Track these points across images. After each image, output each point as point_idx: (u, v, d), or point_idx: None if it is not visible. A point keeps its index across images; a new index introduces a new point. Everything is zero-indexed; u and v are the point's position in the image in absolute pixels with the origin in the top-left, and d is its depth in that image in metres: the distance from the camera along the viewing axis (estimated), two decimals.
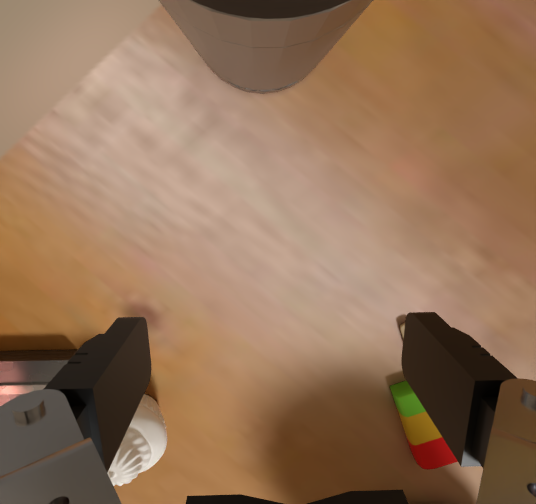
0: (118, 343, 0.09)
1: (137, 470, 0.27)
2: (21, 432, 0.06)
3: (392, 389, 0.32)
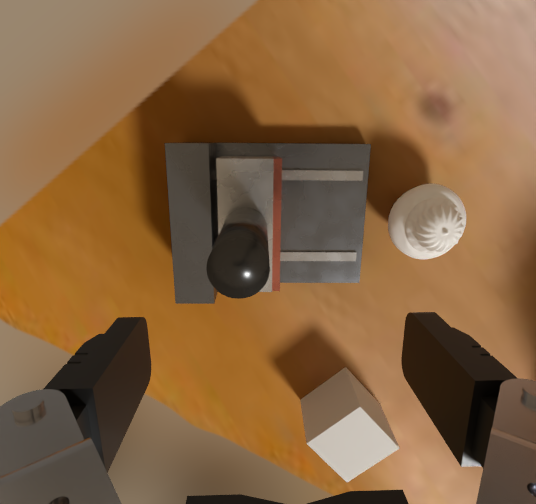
0: (118, 343, 0.09)
1: (462, 233, 0.28)
2: (21, 432, 0.06)
3: None
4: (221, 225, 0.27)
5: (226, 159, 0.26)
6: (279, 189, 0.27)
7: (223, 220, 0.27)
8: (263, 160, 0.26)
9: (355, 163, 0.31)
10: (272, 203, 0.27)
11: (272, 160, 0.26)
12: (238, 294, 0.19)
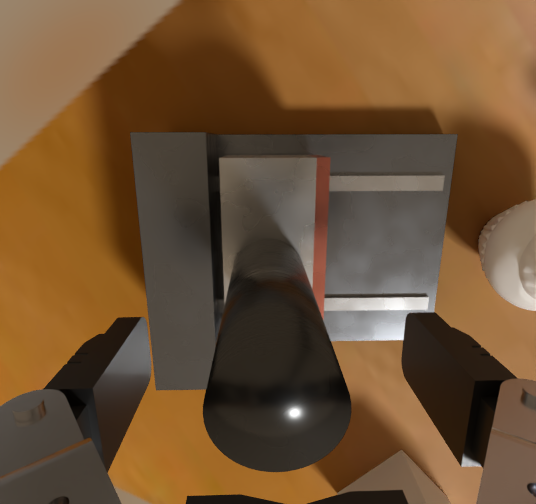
0: (118, 343, 0.09)
1: None
2: (21, 432, 0.06)
3: None
4: (228, 268, 0.17)
5: (236, 159, 0.15)
6: (325, 208, 0.16)
7: (231, 260, 0.16)
8: (299, 160, 0.15)
9: (432, 165, 0.20)
10: (313, 232, 0.16)
11: (314, 160, 0.15)
12: (276, 464, 0.08)
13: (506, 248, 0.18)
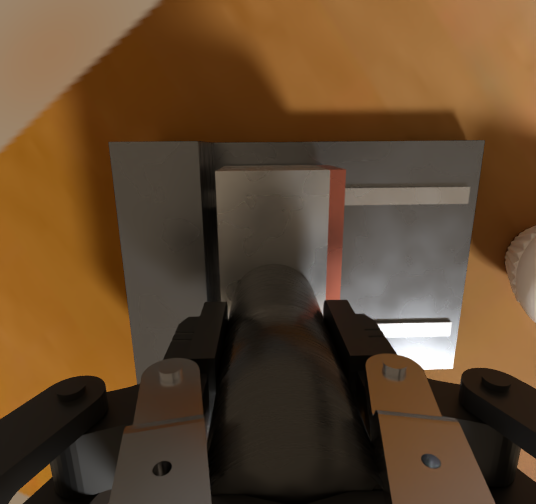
0: (217, 322, 0.10)
1: None
2: (174, 390, 0.07)
3: None
4: (227, 299, 0.14)
5: (235, 172, 0.13)
6: (339, 229, 0.14)
7: (230, 289, 0.14)
8: (310, 173, 0.13)
9: (456, 175, 0.18)
10: (325, 255, 0.14)
11: (327, 173, 0.13)
12: None
13: None
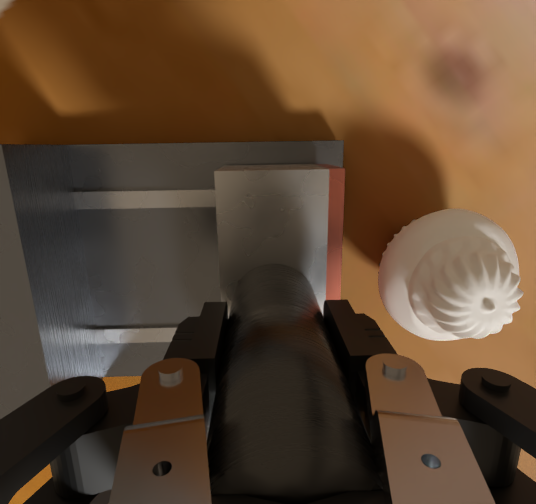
0: (217, 322, 0.10)
1: (519, 306, 0.14)
2: (174, 390, 0.07)
3: None
4: (227, 299, 0.14)
5: (234, 172, 0.13)
6: (339, 228, 0.14)
7: (230, 289, 0.14)
8: (309, 172, 0.13)
9: None
10: (325, 255, 0.14)
11: (327, 172, 0.13)
12: None
13: (394, 271, 0.16)
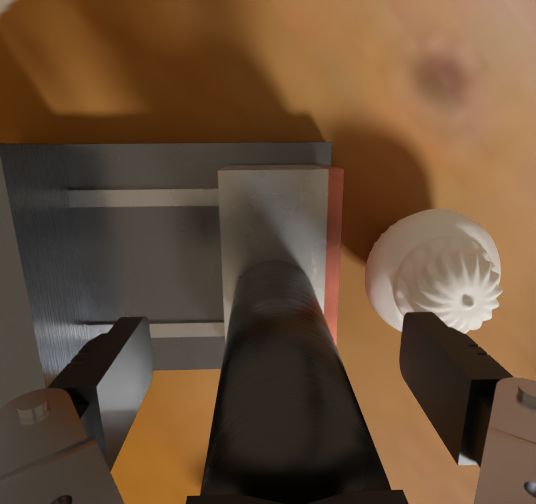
0: (121, 342, 0.09)
1: (498, 303, 0.15)
2: (26, 430, 0.06)
3: None
4: (229, 294, 0.15)
5: (237, 172, 0.13)
6: (337, 226, 0.14)
7: (232, 285, 0.15)
8: (309, 172, 0.13)
9: None
10: (324, 252, 0.14)
11: (326, 172, 0.14)
12: None
13: (380, 269, 0.16)
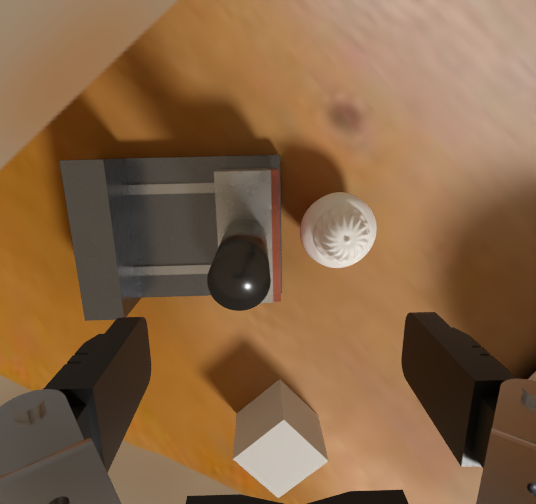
0: (118, 343, 0.09)
1: (366, 241, 0.28)
2: (21, 432, 0.06)
3: None
4: (220, 238, 0.27)
5: (224, 172, 0.26)
6: (277, 200, 0.27)
7: (222, 233, 0.27)
8: (260, 172, 0.26)
9: None
10: (271, 214, 0.27)
11: (269, 172, 0.26)
12: (240, 306, 0.19)
13: (306, 226, 0.29)
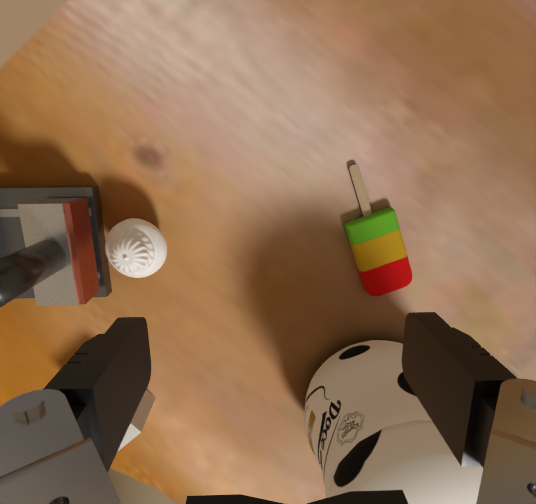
0: (118, 343, 0.09)
1: (144, 258, 0.36)
2: (21, 432, 0.06)
3: (345, 223, 0.41)
4: None
5: (25, 204, 0.34)
6: (71, 226, 0.35)
7: None
8: (54, 204, 0.34)
9: None
10: (67, 237, 0.35)
11: (61, 204, 0.34)
12: None
13: (106, 245, 0.37)
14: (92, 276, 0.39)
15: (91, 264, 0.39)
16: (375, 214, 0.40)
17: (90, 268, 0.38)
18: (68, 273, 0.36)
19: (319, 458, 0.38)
